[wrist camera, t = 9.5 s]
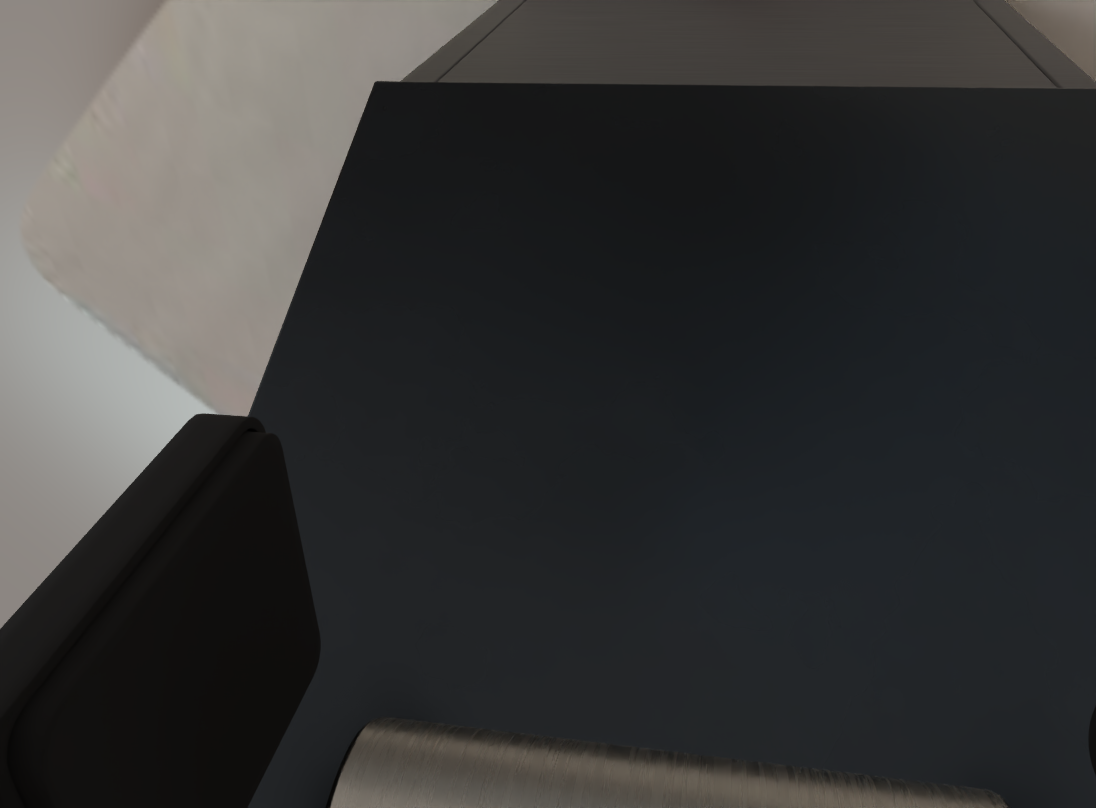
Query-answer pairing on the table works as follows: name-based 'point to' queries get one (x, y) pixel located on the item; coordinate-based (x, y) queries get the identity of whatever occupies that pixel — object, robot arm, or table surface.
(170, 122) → the table surface
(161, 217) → the table surface
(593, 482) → the bin lid
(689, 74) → the trash bin
